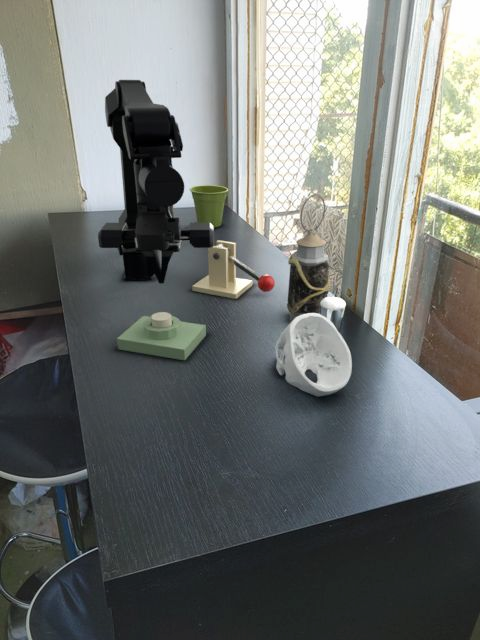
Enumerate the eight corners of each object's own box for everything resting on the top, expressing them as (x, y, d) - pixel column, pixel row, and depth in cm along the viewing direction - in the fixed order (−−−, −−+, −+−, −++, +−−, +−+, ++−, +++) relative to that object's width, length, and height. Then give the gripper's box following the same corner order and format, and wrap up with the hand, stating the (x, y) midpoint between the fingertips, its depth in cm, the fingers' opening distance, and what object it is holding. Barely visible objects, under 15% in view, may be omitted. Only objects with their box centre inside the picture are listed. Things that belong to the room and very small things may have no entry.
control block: (118, 349, 94) (115, 329, 92) (144, 325, 102) (142, 307, 100) (184, 360, 91) (183, 340, 89) (206, 335, 99) (205, 316, 97)
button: (148, 327, 94) (147, 318, 93) (157, 319, 97) (156, 310, 96) (166, 330, 93) (166, 321, 92) (175, 322, 96) (174, 313, 95)
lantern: (305, 307, 112) (313, 187, 99) (335, 319, 107) (347, 194, 94) (277, 319, 106) (282, 193, 94) (307, 332, 101) (316, 202, 89)
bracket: (252, 285, 122) (252, 242, 117) (236, 299, 115) (235, 254, 110) (210, 277, 126) (209, 235, 120) (192, 290, 118) (189, 246, 113)
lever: (272, 291, 118) (280, 278, 115) (265, 297, 114) (273, 284, 112) (217, 253, 119) (224, 239, 116) (209, 258, 116) (216, 244, 113)
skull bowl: (305, 340, 95) (330, 302, 85) (338, 409, 89) (369, 376, 79) (253, 352, 91) (273, 312, 80) (284, 424, 85) (310, 392, 75)
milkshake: (344, 338, 99) (349, 289, 95) (338, 350, 95) (344, 300, 90) (321, 334, 101) (325, 285, 96) (314, 346, 96) (318, 296, 91)
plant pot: (227, 231, 160) (226, 193, 154) (188, 230, 160) (186, 192, 154) (230, 220, 170) (229, 185, 165) (193, 219, 170) (192, 184, 165)
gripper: (84, 204, 77) (98, 301, 84) (211, 204, 78) (214, 300, 86) (99, 188, 87) (111, 276, 94) (212, 188, 88) (214, 276, 95)
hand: (161, 282), depth 92 cm, fingers closed
